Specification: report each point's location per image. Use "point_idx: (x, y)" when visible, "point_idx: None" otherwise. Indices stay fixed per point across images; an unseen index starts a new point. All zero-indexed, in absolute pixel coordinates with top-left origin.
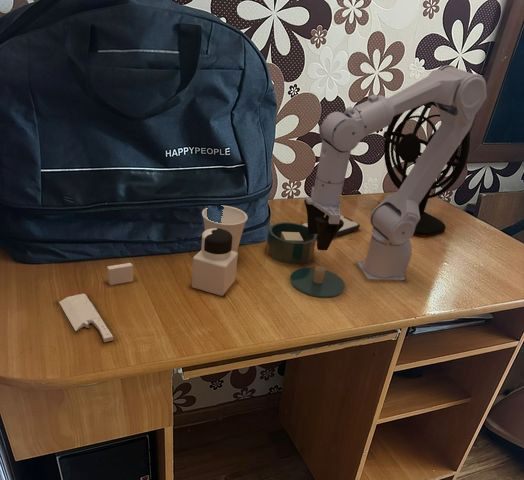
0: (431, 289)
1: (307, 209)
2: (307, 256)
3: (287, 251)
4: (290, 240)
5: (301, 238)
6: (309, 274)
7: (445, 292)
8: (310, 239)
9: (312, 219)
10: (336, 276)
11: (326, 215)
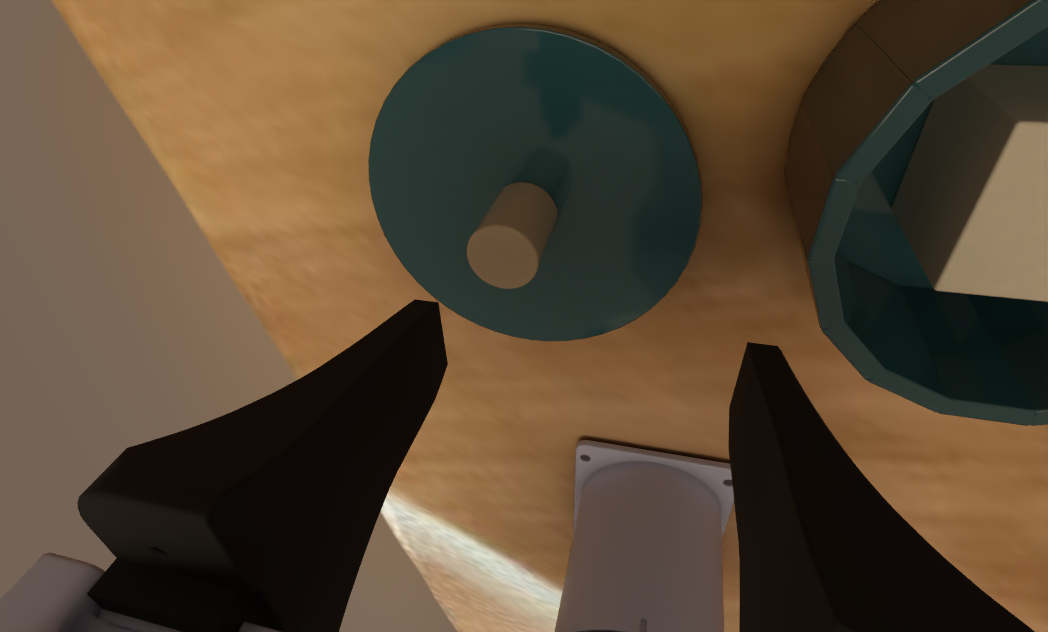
0: (523, 568)
1: (824, 549)
2: (801, 250)
3: (852, 94)
4: (989, 173)
5: (983, 287)
6: (606, 189)
7: (508, 585)
8: (1004, 356)
9: (767, 479)
10: (579, 328)
11: (210, 630)
